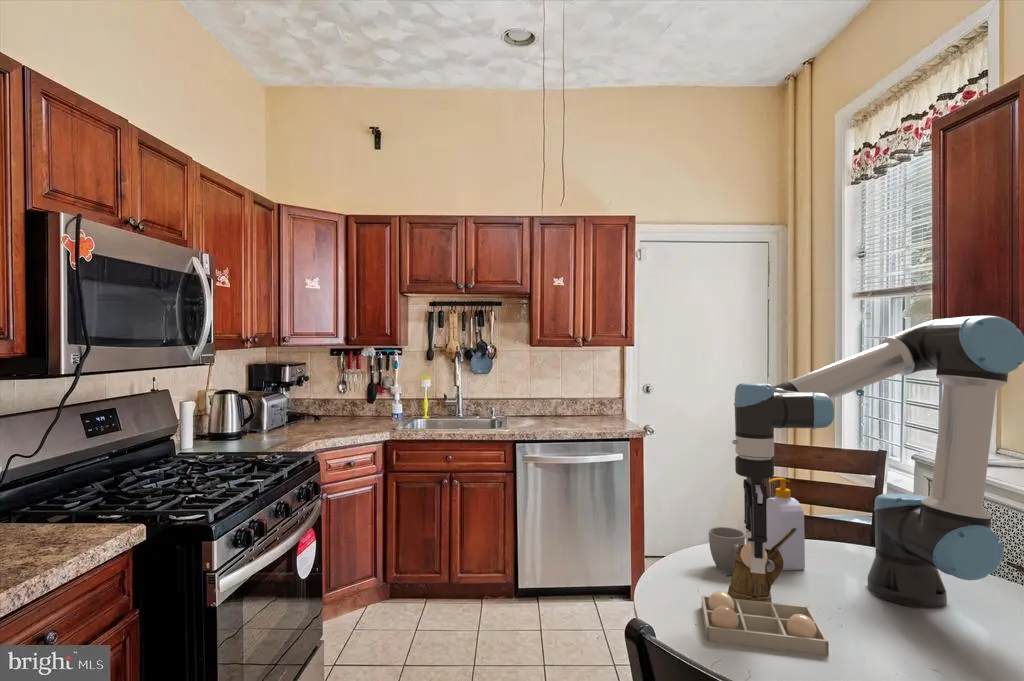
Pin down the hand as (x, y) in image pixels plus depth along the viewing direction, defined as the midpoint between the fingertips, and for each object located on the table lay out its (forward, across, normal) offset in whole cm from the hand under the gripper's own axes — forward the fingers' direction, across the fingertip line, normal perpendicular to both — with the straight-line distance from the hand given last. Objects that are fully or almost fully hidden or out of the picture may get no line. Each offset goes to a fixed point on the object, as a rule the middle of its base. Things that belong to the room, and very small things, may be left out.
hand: (755, 566), depth 116 cm
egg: (0, 0, 0) cm, 0 cm away
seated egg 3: (+11, +7, +7) cm, 15 cm away
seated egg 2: (+11, +7, -7) cm, 15 cm away
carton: (+12, +3, 0) cm, 12 cm away
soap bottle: (+12, -36, +12) cm, 40 cm away
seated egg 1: (+11, 0, -7) cm, 13 cm away
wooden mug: (+12, -11, +2) cm, 16 cm away
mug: (+12, -28, -2) cm, 30 cm away
